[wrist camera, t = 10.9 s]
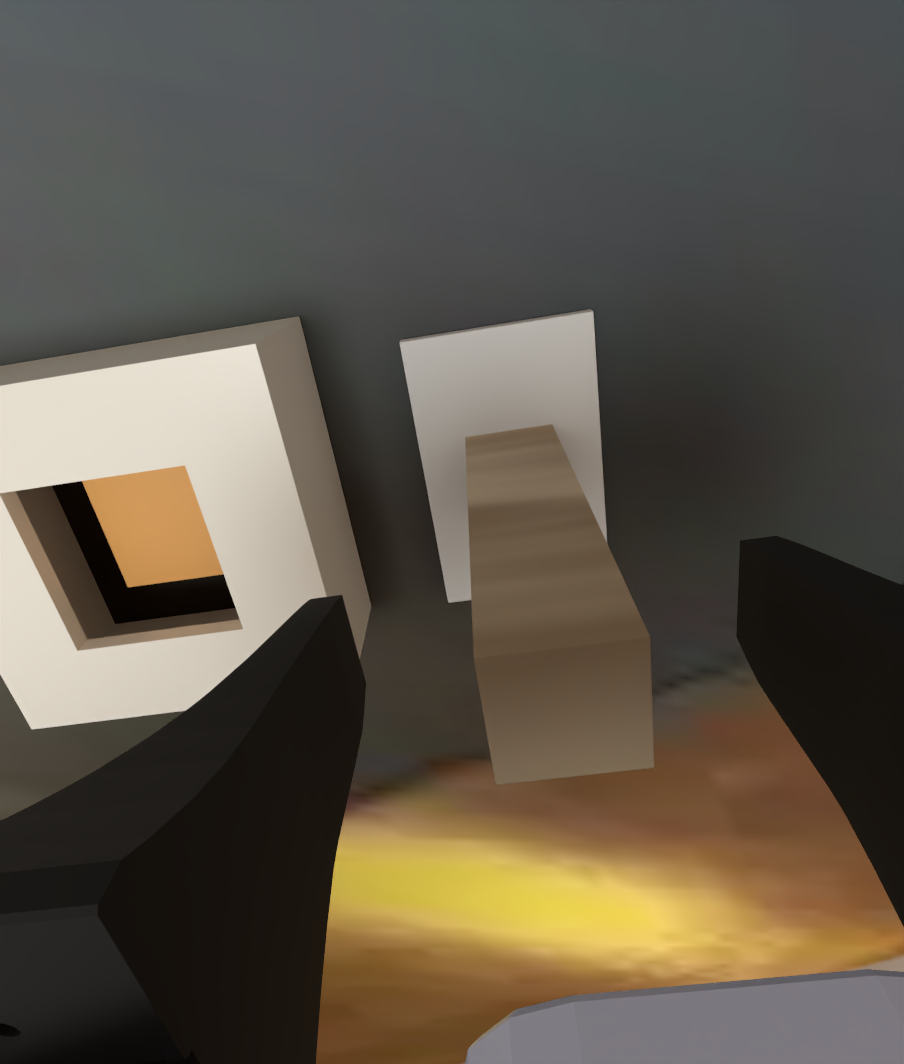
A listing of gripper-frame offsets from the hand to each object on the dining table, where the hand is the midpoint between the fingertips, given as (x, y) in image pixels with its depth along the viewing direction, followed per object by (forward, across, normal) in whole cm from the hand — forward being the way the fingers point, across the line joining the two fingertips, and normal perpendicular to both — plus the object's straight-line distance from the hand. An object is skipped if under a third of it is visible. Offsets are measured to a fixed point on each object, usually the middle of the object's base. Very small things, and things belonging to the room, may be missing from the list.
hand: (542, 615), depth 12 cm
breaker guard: (+8, +9, -1) cm, 12 cm away
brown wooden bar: (+7, 0, 0) cm, 7 cm away
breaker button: (+8, +9, -1) cm, 12 cm away
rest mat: (+8, 0, 0) cm, 8 cm away
